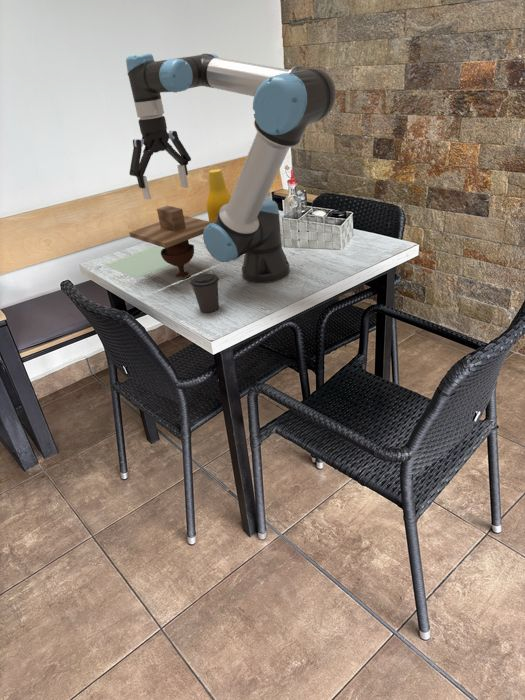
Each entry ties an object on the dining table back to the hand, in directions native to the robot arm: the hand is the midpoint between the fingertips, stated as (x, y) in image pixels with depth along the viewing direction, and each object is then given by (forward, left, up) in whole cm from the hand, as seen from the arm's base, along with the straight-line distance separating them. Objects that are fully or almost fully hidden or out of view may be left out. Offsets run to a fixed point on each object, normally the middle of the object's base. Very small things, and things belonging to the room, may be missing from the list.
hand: (166, 192), depth 159 cm
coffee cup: (-27, +10, -28) cm, 40 cm away
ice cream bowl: (0, 0, -28) cm, 28 cm away
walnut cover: (0, 0, -12) cm, 12 cm away
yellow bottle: (+2, -21, -28) cm, 35 cm away
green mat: (+22, 0, -27) cm, 35 cm away
